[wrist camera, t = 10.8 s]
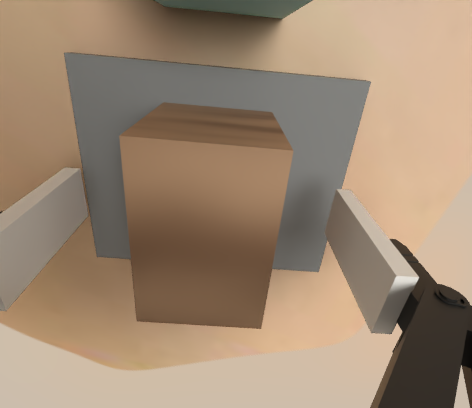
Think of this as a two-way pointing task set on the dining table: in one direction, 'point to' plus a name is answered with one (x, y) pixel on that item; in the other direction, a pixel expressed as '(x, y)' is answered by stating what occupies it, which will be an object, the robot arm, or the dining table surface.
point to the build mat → (226, 96)
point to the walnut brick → (204, 212)
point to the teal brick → (241, 6)
